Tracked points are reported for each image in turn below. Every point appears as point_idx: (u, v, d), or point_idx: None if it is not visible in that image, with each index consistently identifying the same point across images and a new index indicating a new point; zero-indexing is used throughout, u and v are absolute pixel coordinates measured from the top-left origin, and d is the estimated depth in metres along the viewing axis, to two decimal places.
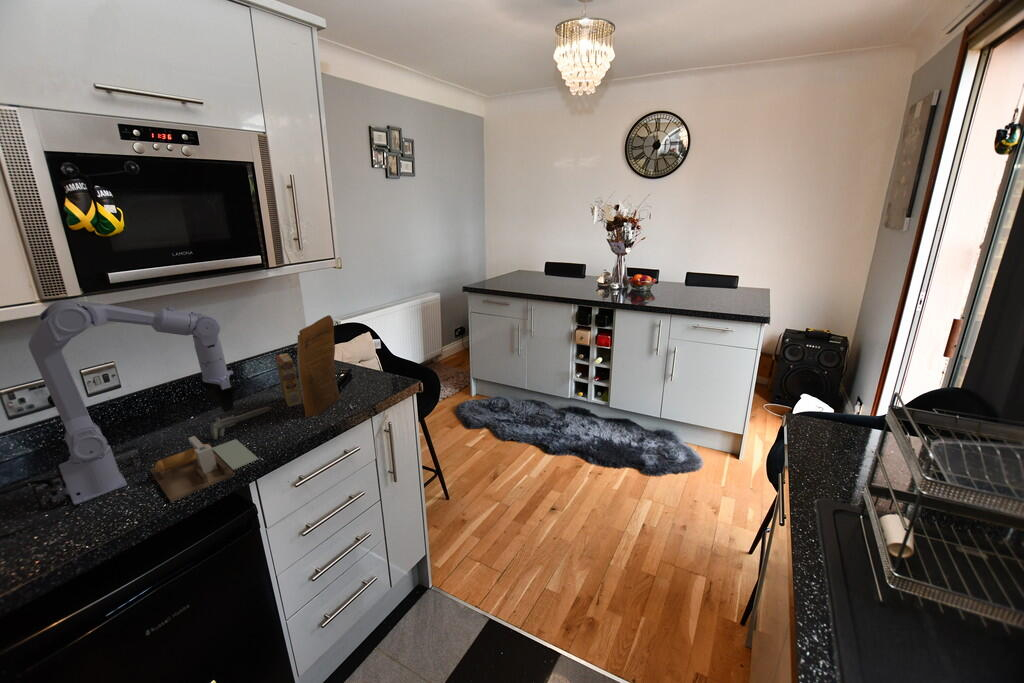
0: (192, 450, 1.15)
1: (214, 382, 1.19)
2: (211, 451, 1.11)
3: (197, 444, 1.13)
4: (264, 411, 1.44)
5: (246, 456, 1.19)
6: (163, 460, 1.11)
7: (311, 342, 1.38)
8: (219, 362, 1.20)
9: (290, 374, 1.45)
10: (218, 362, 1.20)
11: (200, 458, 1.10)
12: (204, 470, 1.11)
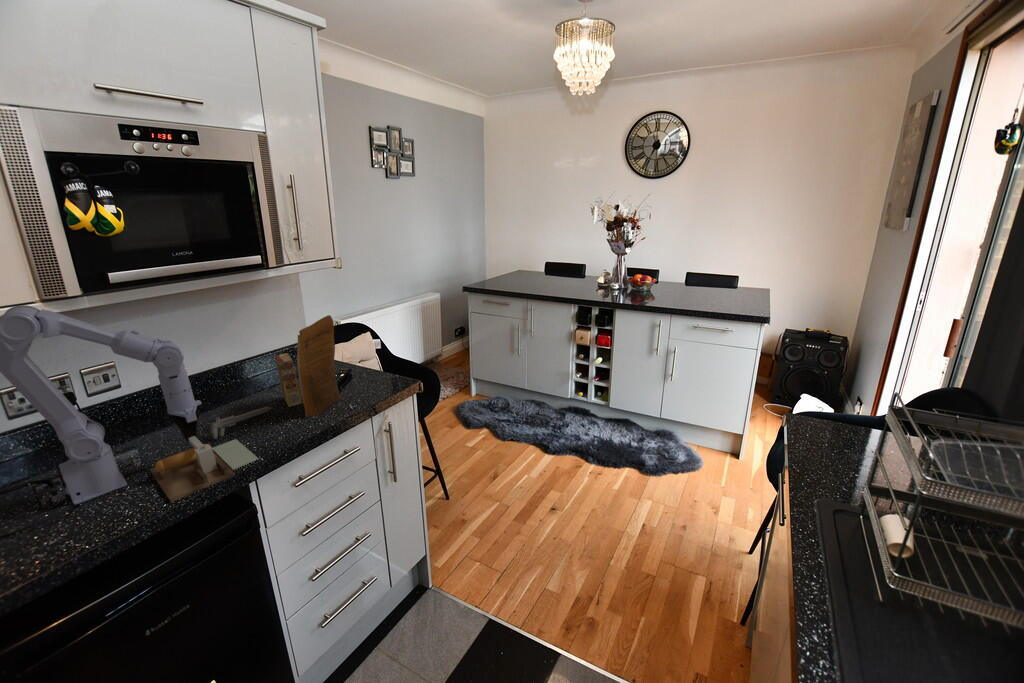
0: (192, 450, 1.15)
1: (179, 415, 1.12)
2: (211, 451, 1.11)
3: (197, 444, 1.13)
4: (264, 411, 1.44)
5: (246, 456, 1.19)
6: (163, 460, 1.11)
7: (311, 342, 1.38)
8: (185, 393, 1.13)
9: (290, 374, 1.45)
10: (184, 393, 1.13)
11: (200, 458, 1.10)
12: (204, 470, 1.11)
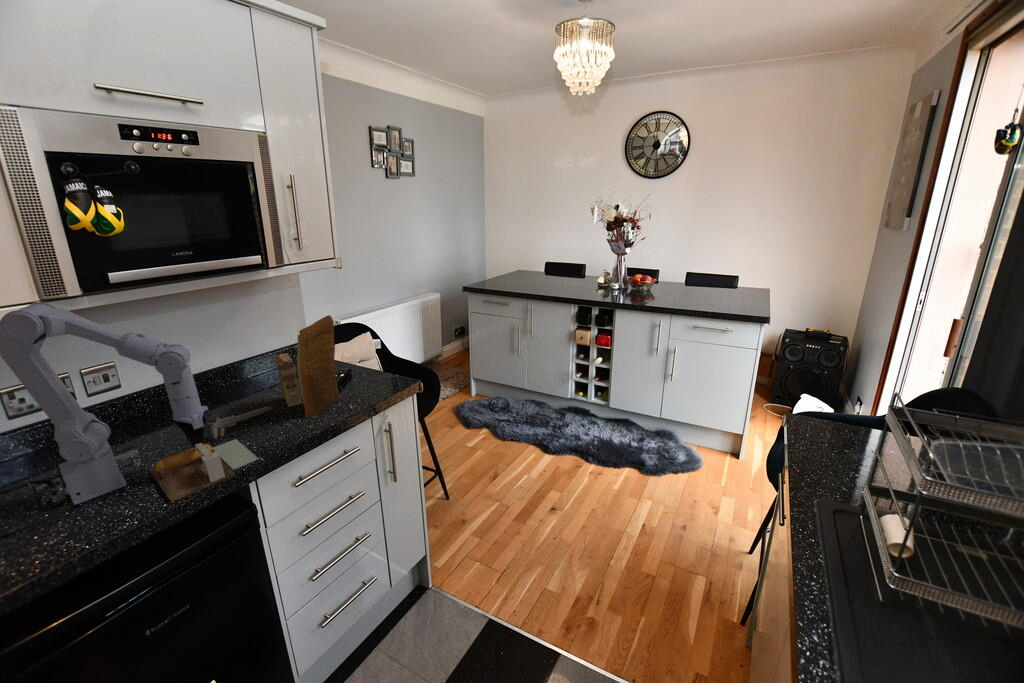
0: (192, 450, 1.15)
1: (185, 421, 1.08)
2: (218, 459, 1.08)
3: (204, 451, 1.10)
4: (264, 411, 1.44)
5: (246, 456, 1.19)
6: (163, 460, 1.11)
7: (311, 342, 1.38)
8: (191, 398, 1.10)
9: (290, 374, 1.45)
10: (190, 398, 1.09)
11: (207, 466, 1.06)
12: (211, 478, 1.07)
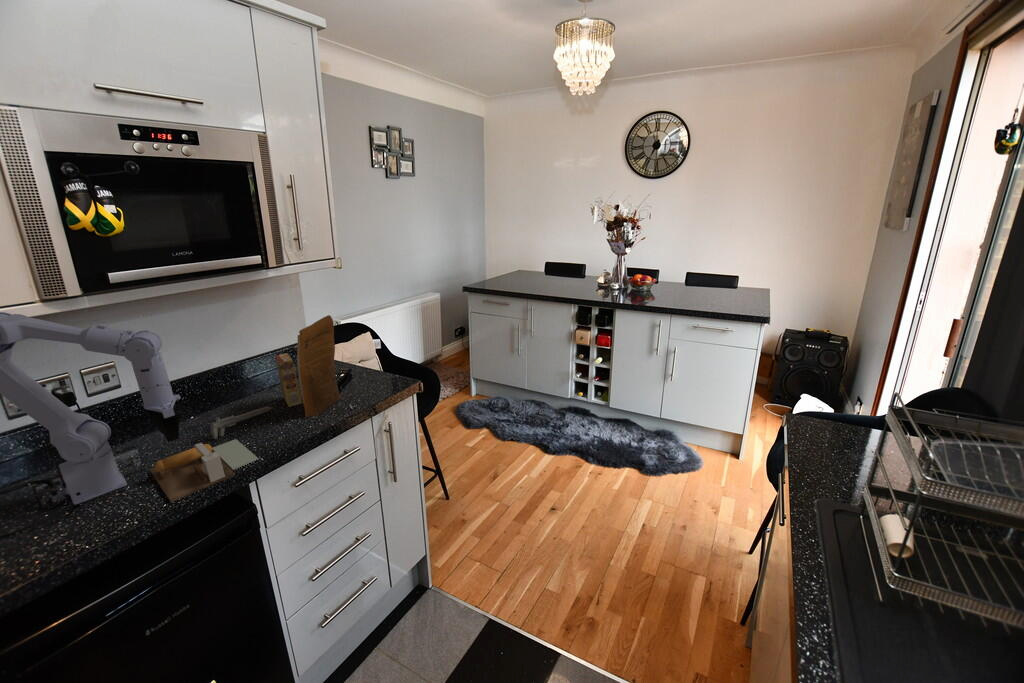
0: (192, 450, 1.15)
1: (156, 410, 1.05)
2: (218, 459, 1.08)
3: (204, 451, 1.10)
4: (264, 411, 1.44)
5: (246, 456, 1.19)
6: (163, 460, 1.11)
7: (311, 342, 1.38)
8: (162, 386, 1.06)
9: (290, 374, 1.45)
10: (161, 386, 1.06)
11: (207, 466, 1.06)
12: (211, 478, 1.07)
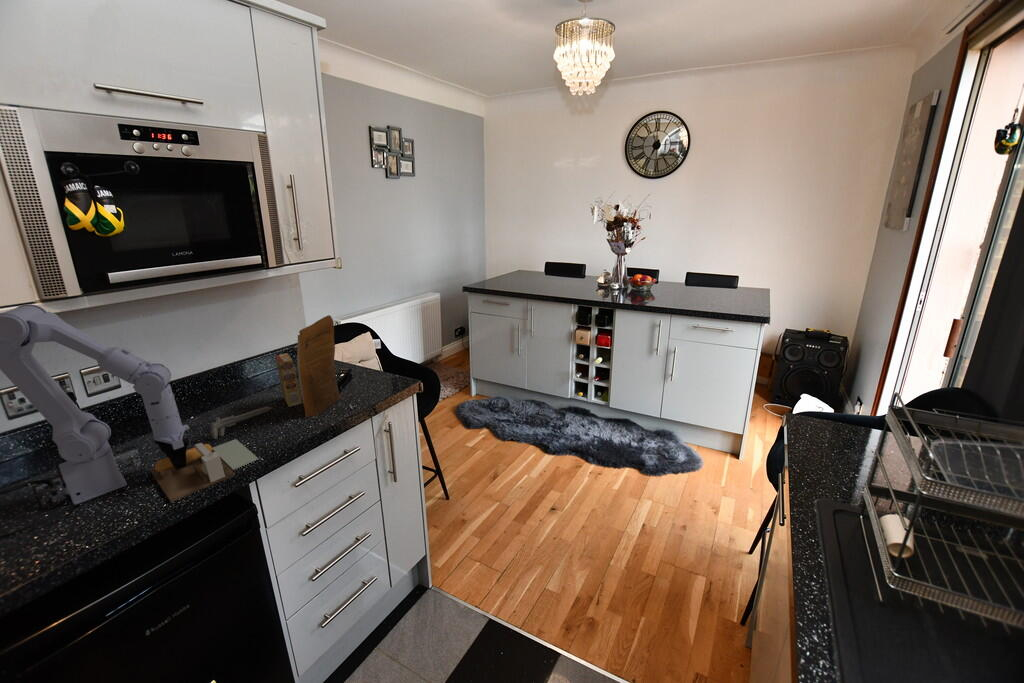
0: (192, 450, 1.15)
1: (165, 441, 1.07)
2: (218, 459, 1.08)
3: (204, 451, 1.10)
4: (264, 411, 1.44)
5: (246, 456, 1.19)
6: (163, 460, 1.11)
7: (311, 342, 1.38)
8: (172, 418, 1.09)
9: (290, 374, 1.45)
10: (170, 418, 1.08)
11: (207, 466, 1.06)
12: (211, 478, 1.07)
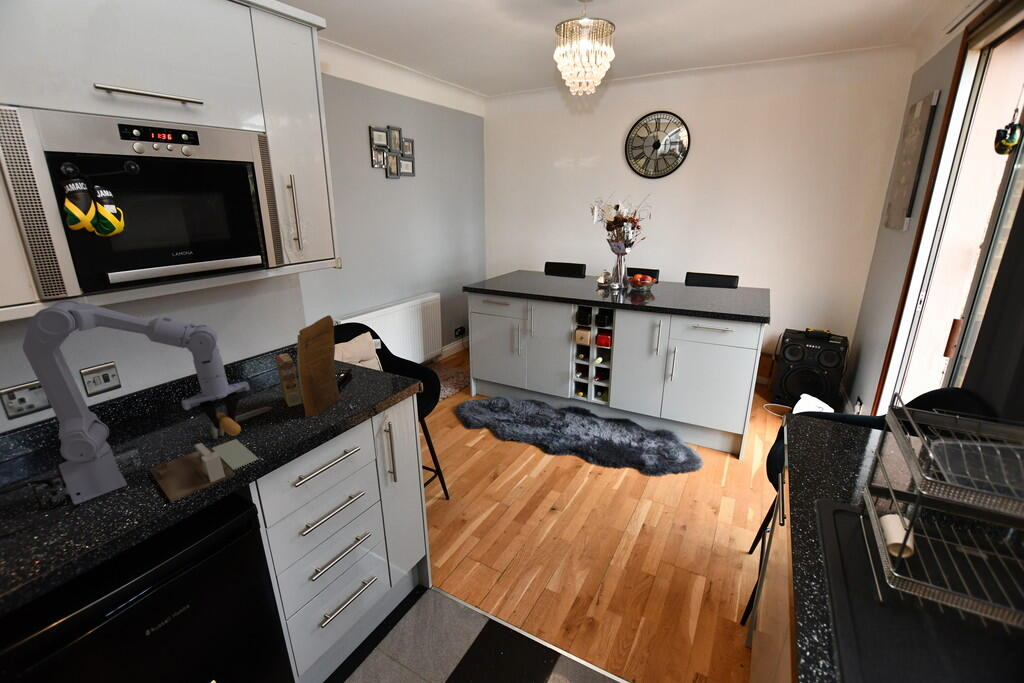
0: (227, 421, 1.15)
1: None
2: (218, 459, 1.08)
3: (204, 451, 1.10)
4: (264, 411, 1.44)
5: (246, 456, 1.19)
6: (218, 413, 1.18)
7: (311, 342, 1.38)
8: (201, 381, 1.11)
9: (290, 374, 1.45)
10: (200, 380, 1.11)
11: (207, 466, 1.06)
12: (211, 478, 1.07)
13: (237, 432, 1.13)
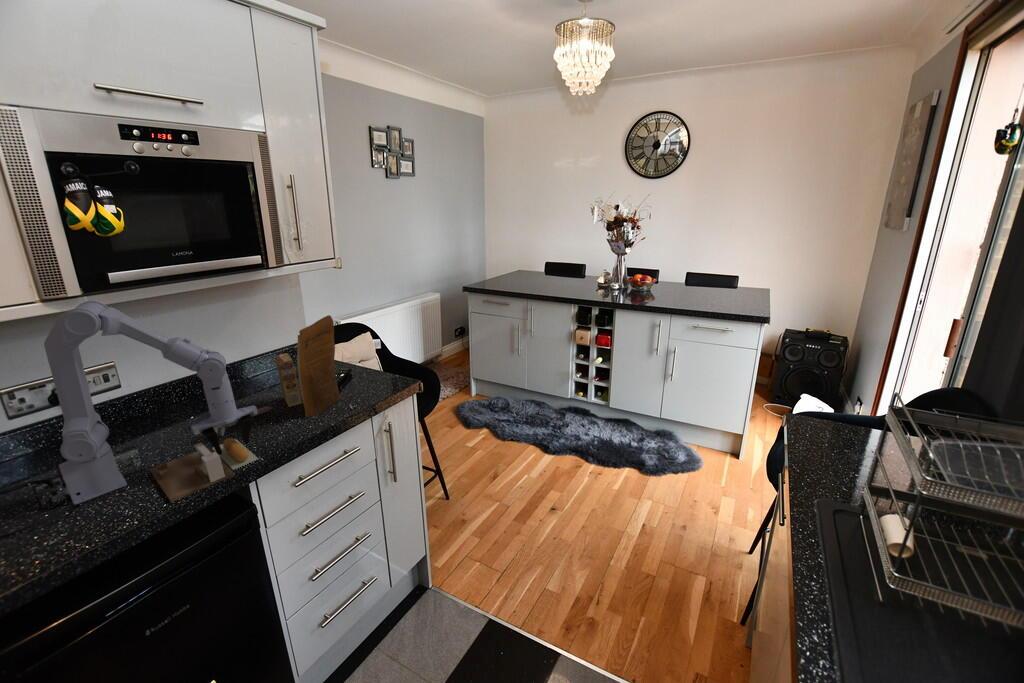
0: (236, 447, 1.17)
1: None
2: (218, 459, 1.08)
3: (204, 451, 1.10)
4: (264, 411, 1.44)
5: None
6: (229, 439, 1.21)
7: (311, 342, 1.38)
8: (210, 406, 1.14)
9: (290, 374, 1.45)
10: (209, 406, 1.14)
11: (207, 466, 1.06)
12: (211, 478, 1.07)
13: (245, 458, 1.16)
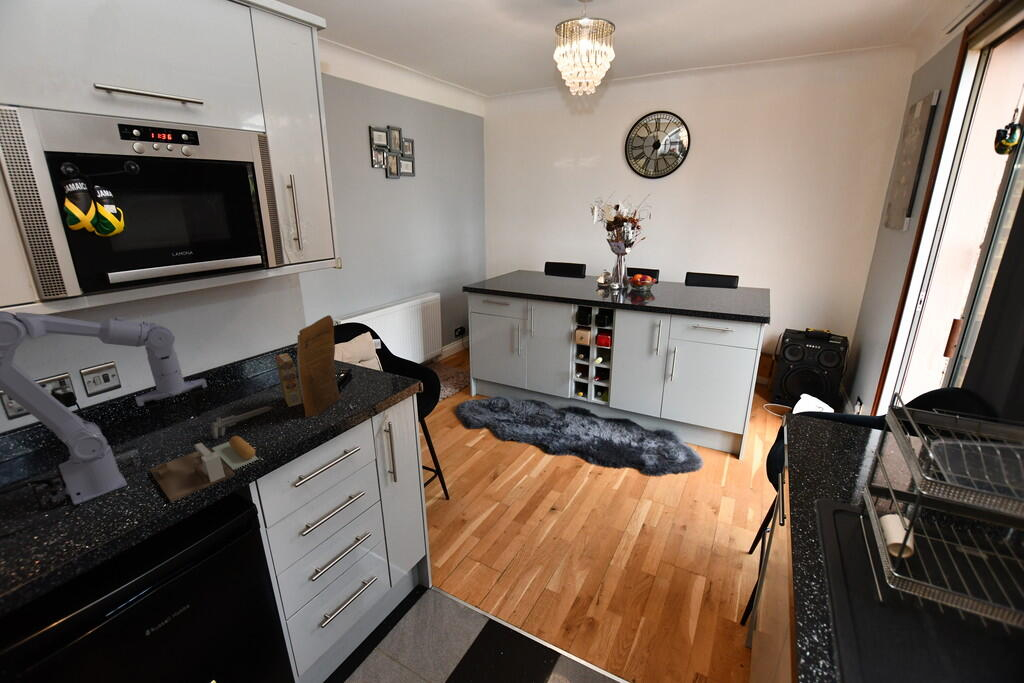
0: (248, 444, 1.20)
1: None
2: (218, 459, 1.08)
3: (204, 451, 1.10)
4: (265, 411, 1.44)
5: None
6: None
7: (311, 342, 1.38)
8: (155, 377, 1.12)
9: (290, 374, 1.45)
10: (154, 377, 1.12)
11: (207, 466, 1.06)
12: (211, 478, 1.07)
13: (249, 456, 1.16)
